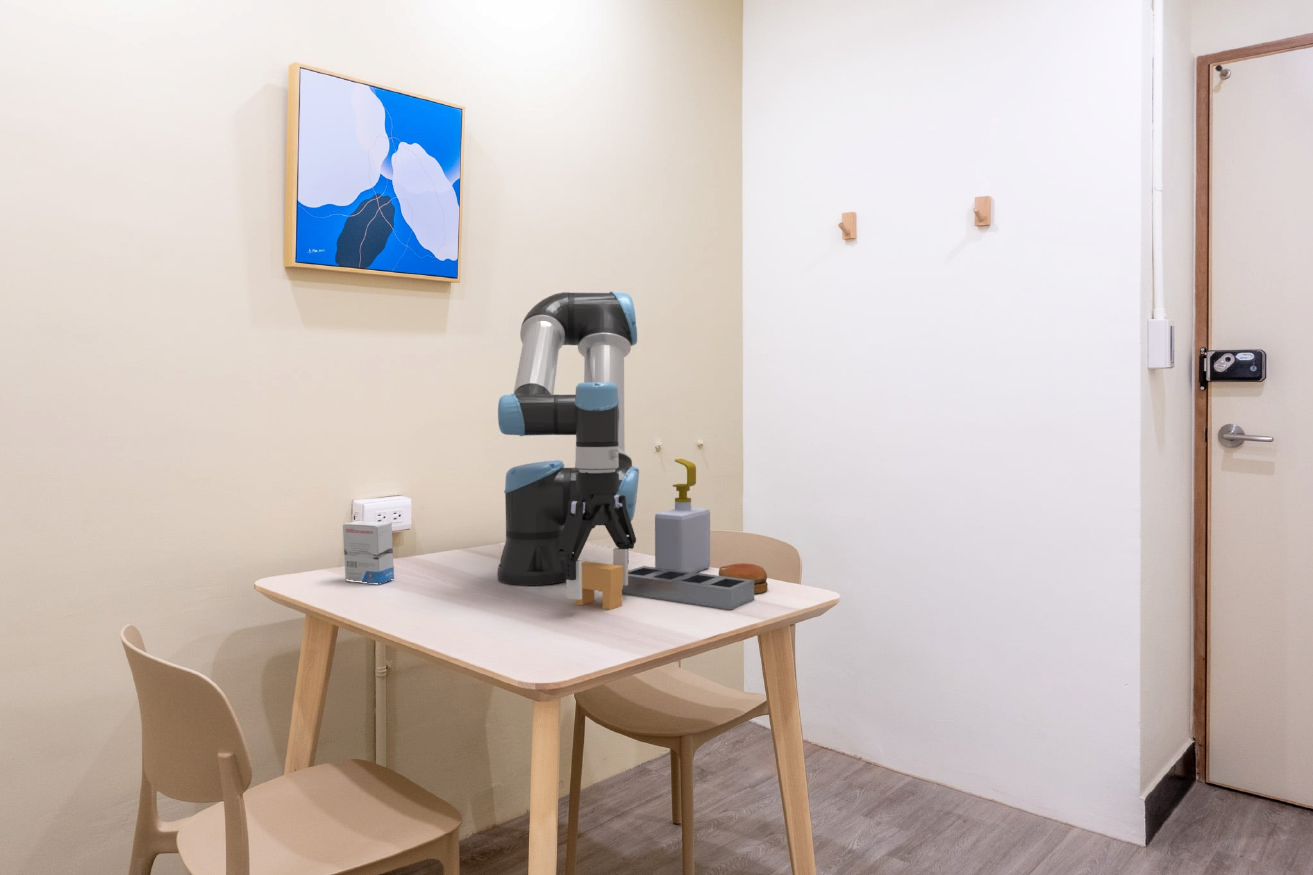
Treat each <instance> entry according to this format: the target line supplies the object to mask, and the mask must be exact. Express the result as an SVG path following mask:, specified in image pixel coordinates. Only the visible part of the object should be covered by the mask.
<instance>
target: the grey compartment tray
mask: <svg viewBox="0 0 1313 875" xmlns="http://www.w3.org/2000/svg"><path fill="white" fill-rule="evenodd" d="M622 595H629V596H635V597H642V598H649V599H655V600H656V599H657V600H662V601H668V602H674V603H682V604H688V605H693V606H694V605H696V606H703V607H710V608H713V609H723V610H728V611H731V610H733V609H735V608H736V609H737V608H738V607H741V606H743V605H745V604H747V603H749V602H752V601H754V600H755V594H754V580H749V579H741V578H734V577H726V576H719V574H717V575H716V574H708V573H702V572H687V571H679V570H671V569H663V568H656V567H654V566H648V565H647V566H646V565H643V566H639V567H635V568H633V569H628V585H626V586H624V585H623V589H622Z"/></svg>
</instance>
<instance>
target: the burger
mask: <svg viewBox="0 0 1313 875" xmlns="http://www.w3.org/2000/svg"><path fill="white" fill-rule="evenodd" d="M718 576H726V577H734V578H741V579H749V580H754V595H755V594H763V593H765V592H767V591H768V585H769V584H768V582H767V579H768V574H767V572H766V570H765V569H764V567H761V566H760V565H757V564H752V563H745V562H744V563H734V564H729V565H723V566H721V567H720V568H719V570H718Z"/></svg>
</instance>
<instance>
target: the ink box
mask: <svg viewBox="0 0 1313 875" xmlns="http://www.w3.org/2000/svg"><path fill="white" fill-rule="evenodd" d="M342 533H343V551H344V552H343V554H344V573H345V575H344V576H345V580H346V579H348V580H353V581H362V582H367V583H378V584H380V583H383V584H386V583H387V582H386V581H389V582H391V581H392V580H391V579H394V580H395V572H394V571H395V570H394V551H393V549H394V546H393V525H392V522H390V521H389V522H386V521H385V522H384V521H365V520H356V521H352V522H346V523H344V524H343V525H342ZM390 580H391V581H390ZM385 582H386V583H385ZM380 585H381V584H380Z"/></svg>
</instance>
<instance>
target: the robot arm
mask: <svg viewBox="0 0 1313 875" xmlns="http://www.w3.org/2000/svg"><path fill="white" fill-rule="evenodd" d="M635 310H636V309H635V304H634V302H633V298H632V297H631V295H630V294H628V293H625V292H614V291H609V292H568V291H567V292H558V293H553V294H552V295H550V296H547V297H546V298H543V299H542V300H540V301H539V302H538V303H536V304H535V305H534V306H533V307H532V308H531V309H530V310H529V311H528V312H527V313H526V315H525V317H523V318H524V319H523V321H522V323H521V327H520V335H519V337H520V341H521V344H522V347H521V353H520V357H519V363H518V368H517V373H516V378H515V384H514V389H513V393H510V394H503V395H502V396H500V398H499V399H498V404H497V405H498V407H497V419H498V420H497V422H498V428H499V431H500V432H501V433H502V434H503V435H506V436H519V437H524V436H575V466H574V467H565V463H564V461H563V460H558V459H557V460H547V461H546V460H545V461H539V462H532V463H531V462H530V463H525V464H520V465H517V466H513V467H511V468H510V469H508V470H507V472H506V473H505V474H506V475H505V483H504V484H505V486H504V487H505V489H504V495H505V497H504V499H505V543H504V546H503V550H502V553H501V556H500V561H499V564H498V565H497V580H498V581H499V582H502V583H504V584H509V585H517V586H541V585H542V586H543V585H544V586H545V585H552V584H558V583H563V582H566V598H567V599H572V600H575V599H578V600H580V599H582V562H583V561H582V560H579V558H580V556H581V554H582V551H583V549H584V547H585V545H586V542H587V541H588V538H589V536H590V534H591V531H592V530H593V529H595V528H596V527H597V526H604V527H605V529H606V530H607V533H608V534H609V536H610V537H611V539H612V541H613V543H614V544H615V546H616V547H614V548H613V549H612V551H613V554H612V556H613V561H612V563H613V564H612V565H618V566H623V585H624V586H626V585H628V571H629V549H630V550H633V549H634V548H635V544H636V543H637V537H636V534H635V531H634V527H633V524H632V521H633V520H634V517H635V513H636V505H637V497H638V489H639V478H640V469H639V467H637V466H635V465H634V466H633V461H632V458H631V457H630V455H628V454H627V453H626V452H625V448H626V447H625V445H626V444H625V358H626V357H627V356H628V355H629V354H630V352H631V350H632V347H634V346H635V345H637V344H638V330H637V329H638V328H637V322H636V321H637V319H636V318H637V317H636V311H635ZM563 346H577V350H578V353H579V354H580V355H581V356H582V357H583V358H584V365H583V366H584V367H583V370H584V372H583V373H584V374H583V375H584V376H583V378H584V379H583V382H580V383H578V384H577V385H576V386H575V394H554V391H555V384H556V377H557V376H556V375H557V368H558V366H557V365H558V358H559V352H560V351H559V350H561V348H562V347H563Z"/></svg>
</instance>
